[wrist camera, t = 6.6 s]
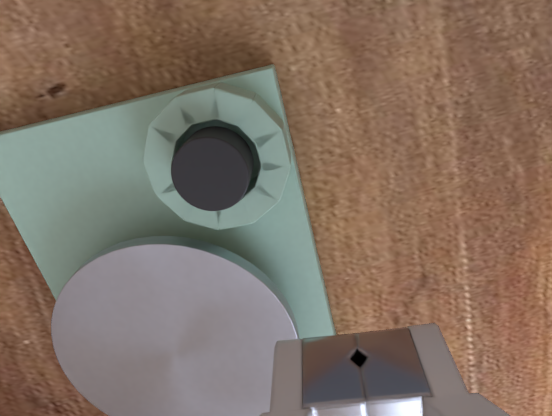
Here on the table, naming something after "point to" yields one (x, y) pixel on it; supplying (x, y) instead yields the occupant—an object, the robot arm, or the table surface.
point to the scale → (165, 186)
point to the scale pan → (171, 330)
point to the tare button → (212, 168)
